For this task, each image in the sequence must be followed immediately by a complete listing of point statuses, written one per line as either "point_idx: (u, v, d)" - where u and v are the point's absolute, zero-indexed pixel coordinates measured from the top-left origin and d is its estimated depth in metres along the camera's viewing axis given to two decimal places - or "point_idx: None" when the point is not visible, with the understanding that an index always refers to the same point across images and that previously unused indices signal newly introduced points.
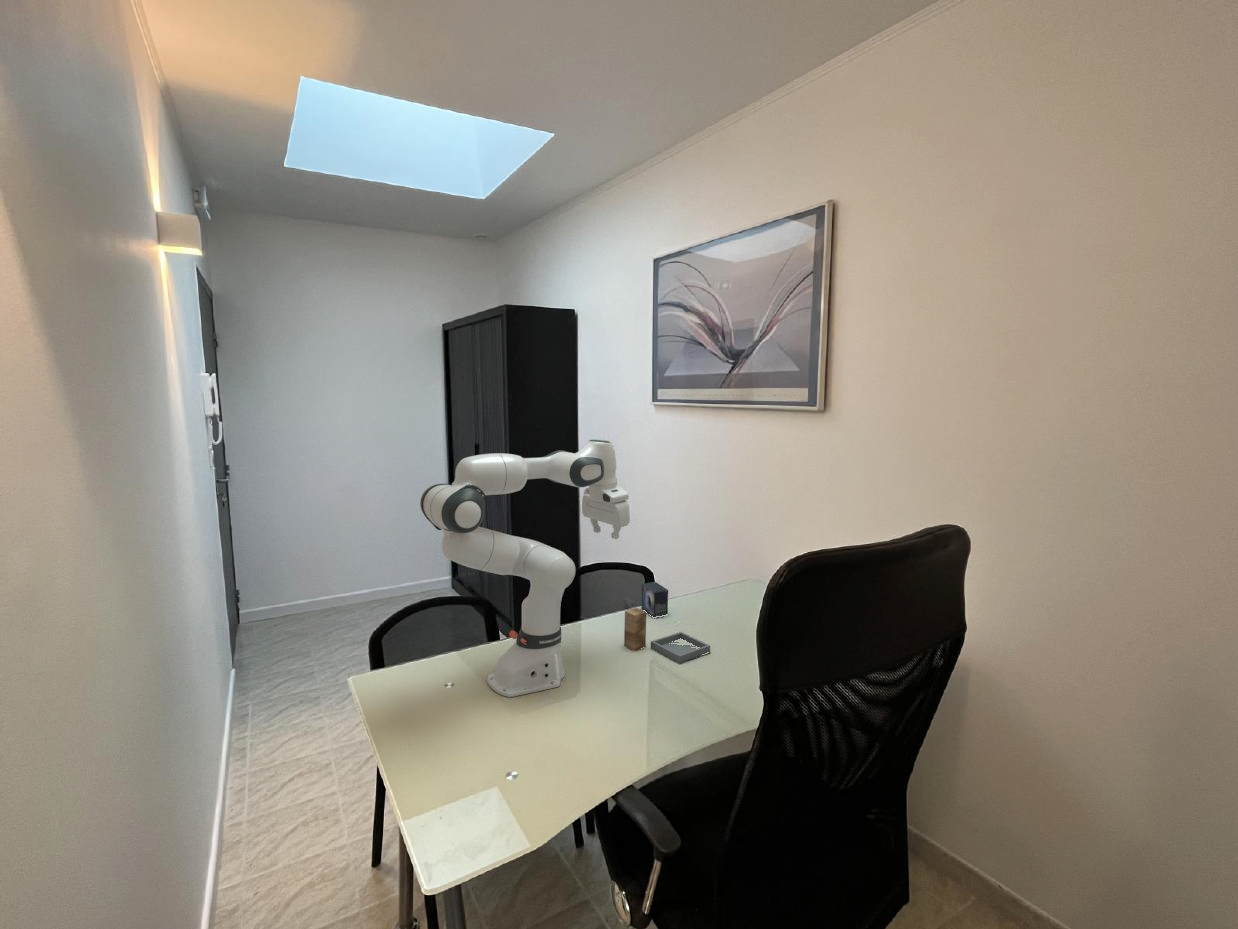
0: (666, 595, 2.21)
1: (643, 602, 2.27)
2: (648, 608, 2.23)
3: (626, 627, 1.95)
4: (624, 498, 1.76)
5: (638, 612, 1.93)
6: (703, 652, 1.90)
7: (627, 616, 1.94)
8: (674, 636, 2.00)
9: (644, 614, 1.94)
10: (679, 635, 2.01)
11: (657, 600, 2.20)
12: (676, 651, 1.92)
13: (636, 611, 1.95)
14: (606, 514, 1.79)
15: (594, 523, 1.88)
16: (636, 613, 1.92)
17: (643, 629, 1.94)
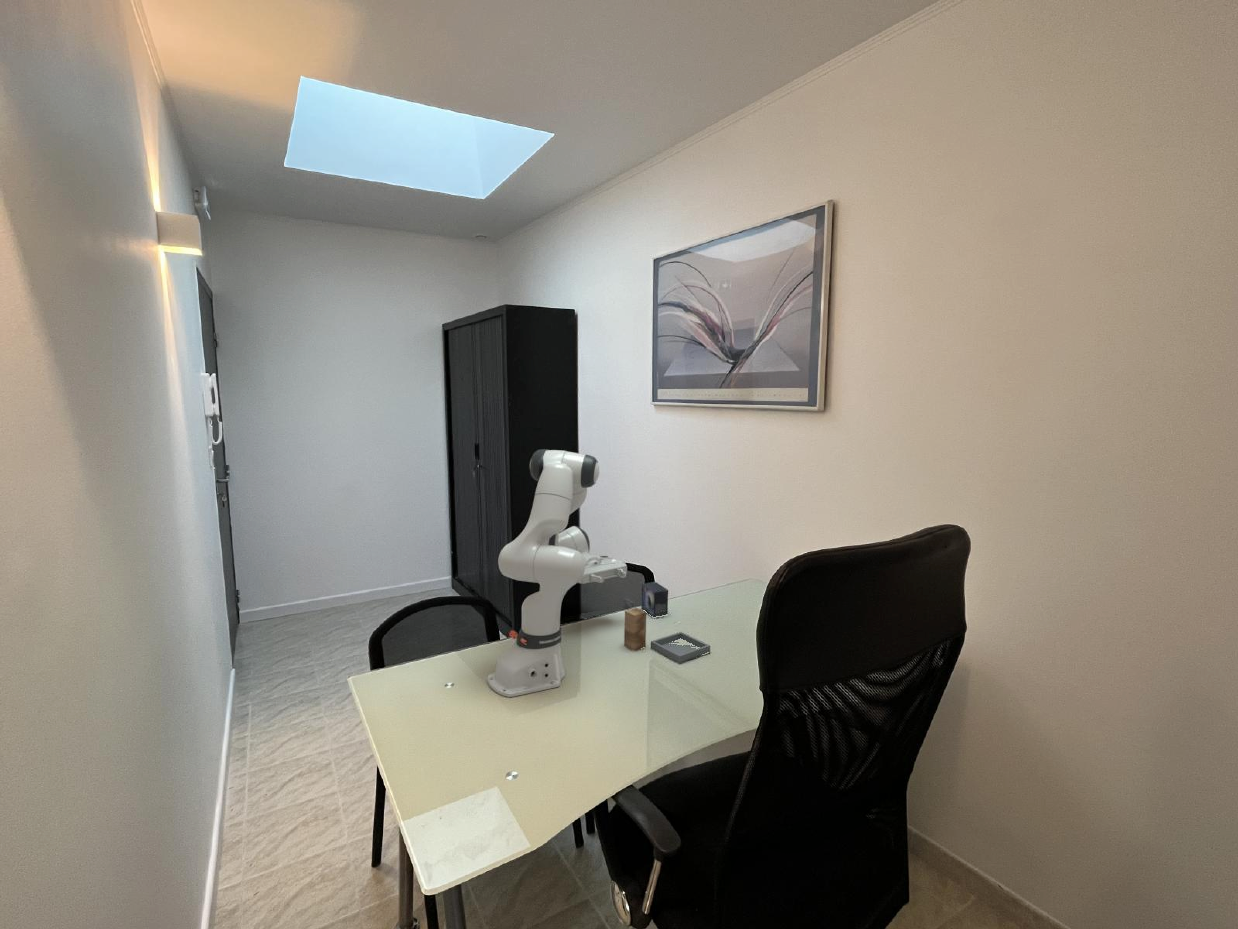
0: (666, 595, 2.21)
1: (643, 602, 2.27)
2: (648, 608, 2.23)
3: (626, 627, 1.95)
4: None
5: (638, 612, 1.93)
6: (703, 652, 1.90)
7: (627, 616, 1.94)
8: (674, 636, 2.00)
9: (644, 614, 1.94)
10: (679, 635, 2.01)
11: (657, 600, 2.20)
12: (676, 651, 1.92)
13: (636, 611, 1.95)
14: (608, 565, 2.11)
15: None
16: (636, 613, 1.92)
17: (643, 629, 1.94)
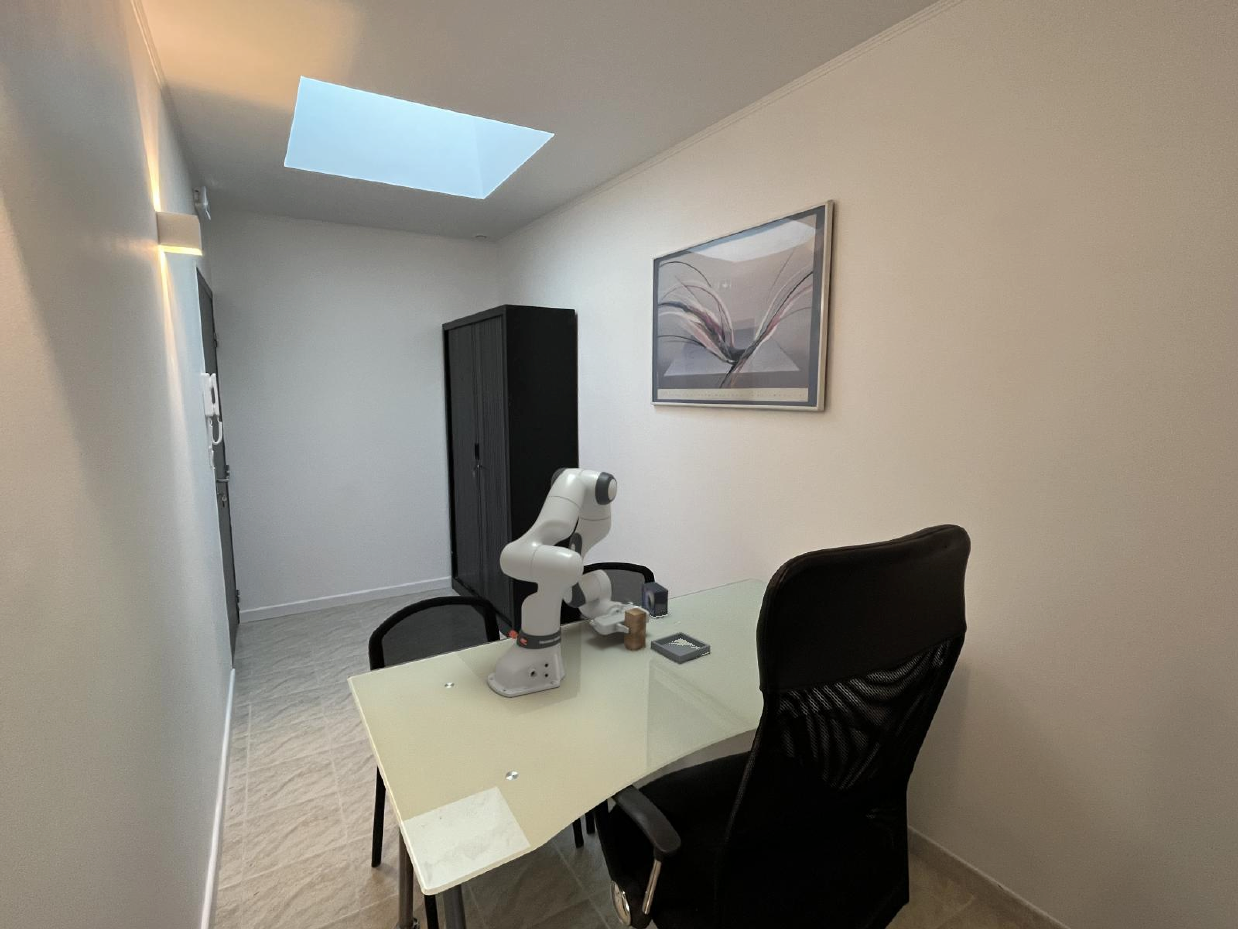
0: (666, 595, 2.21)
1: (643, 602, 2.27)
2: (648, 608, 2.23)
3: None
4: None
5: (638, 612, 1.93)
6: (703, 652, 1.90)
7: (627, 616, 1.94)
8: (674, 636, 2.00)
9: (644, 614, 1.94)
10: (679, 635, 2.01)
11: (657, 600, 2.20)
12: (676, 651, 1.92)
13: (636, 611, 1.95)
14: None
15: None
16: (636, 613, 1.92)
17: (643, 629, 1.94)
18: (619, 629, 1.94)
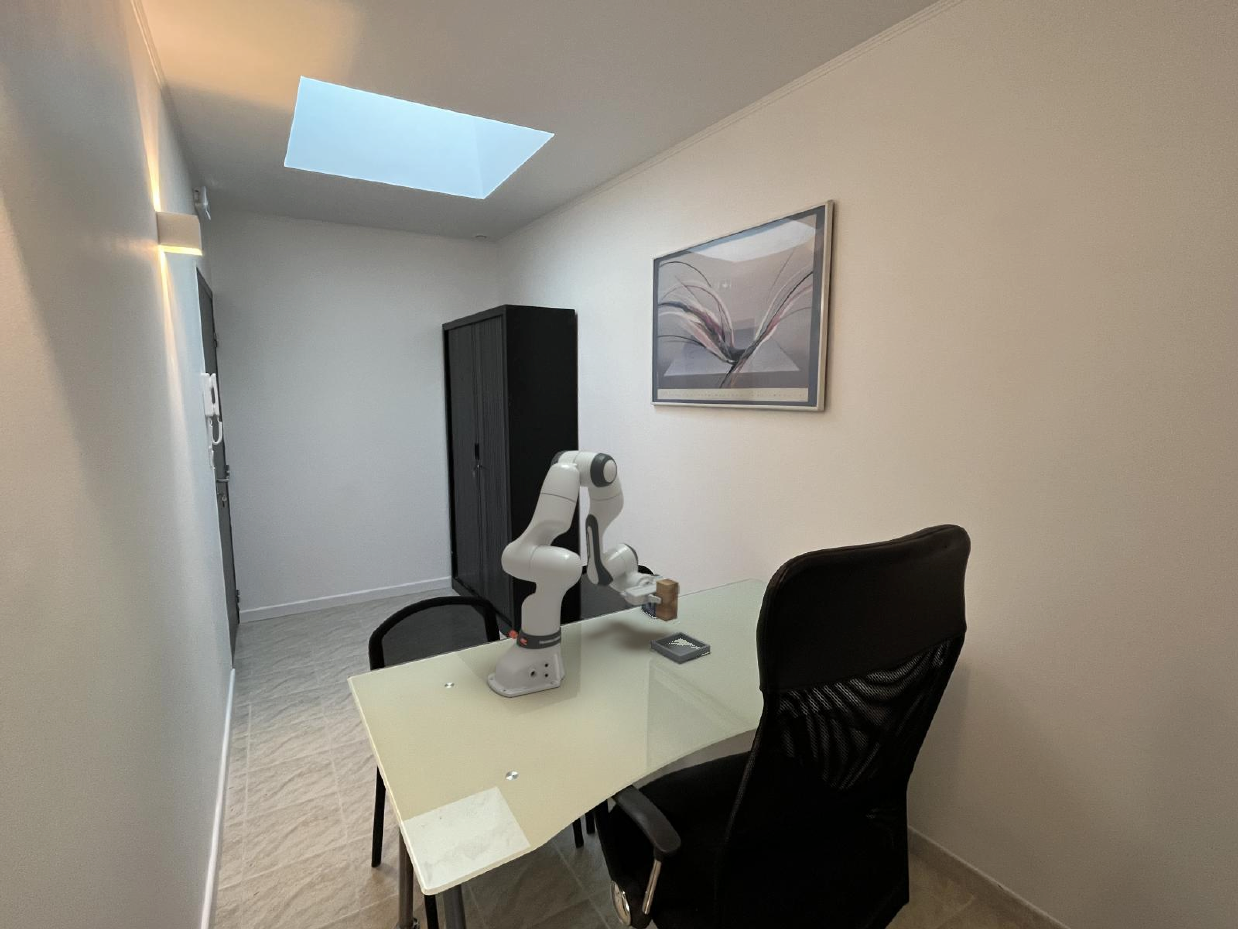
0: None
1: None
2: (648, 608, 2.23)
3: None
4: None
5: (670, 583, 1.91)
6: (703, 652, 1.90)
7: (659, 587, 1.91)
8: (674, 636, 2.00)
9: (676, 584, 1.91)
10: (679, 635, 2.01)
11: None
12: (676, 651, 1.92)
13: (668, 581, 1.92)
14: None
15: None
16: (668, 584, 1.90)
17: (675, 600, 1.92)
18: (651, 600, 1.91)
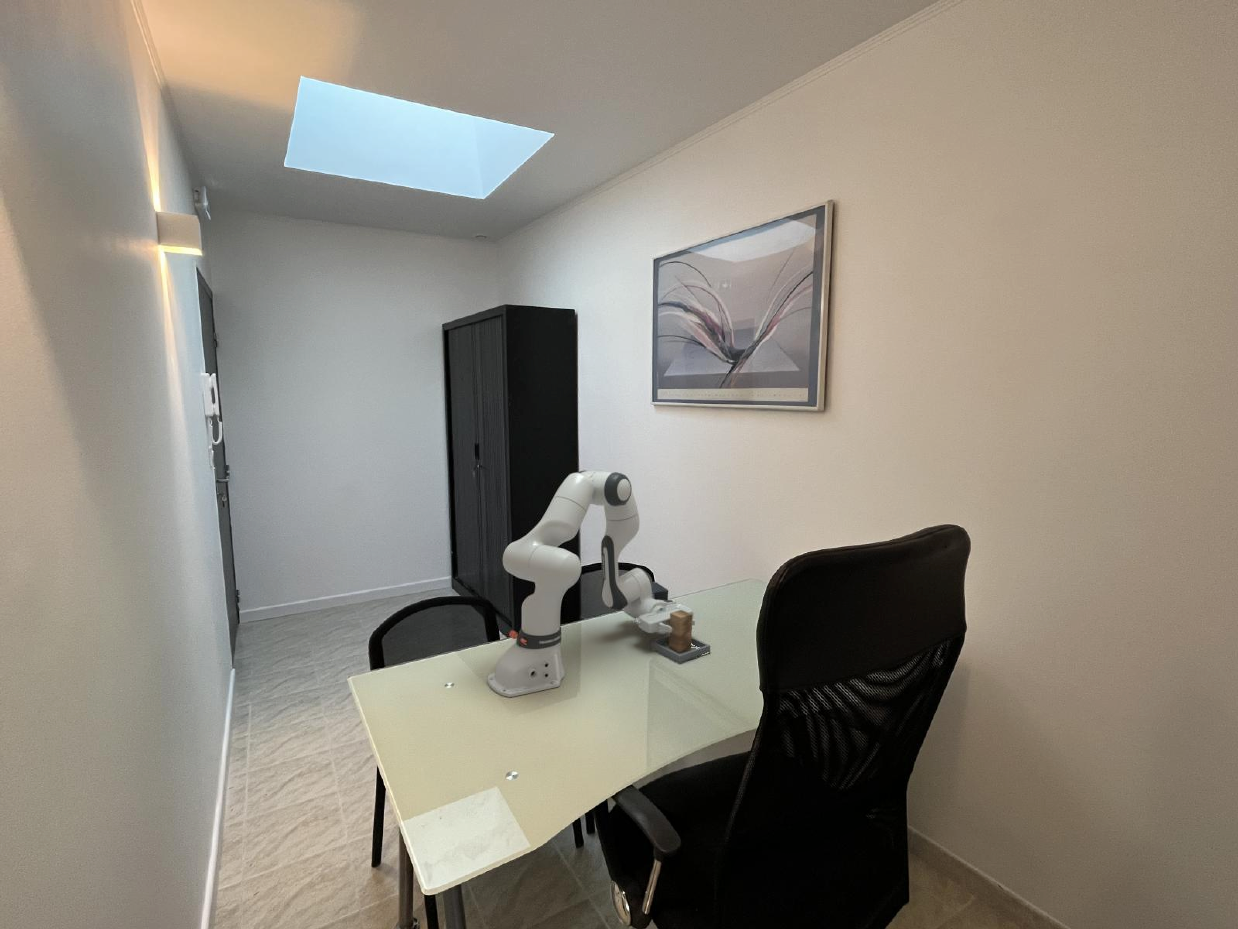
0: (666, 595, 2.21)
1: None
2: None
3: None
4: None
5: (684, 615, 1.91)
6: (703, 652, 1.90)
7: (672, 618, 1.91)
8: None
9: (690, 616, 1.91)
10: None
11: None
12: None
13: (682, 613, 1.92)
14: (674, 611, 2.00)
15: None
16: (682, 616, 1.90)
17: (689, 631, 1.91)
18: (661, 628, 1.90)
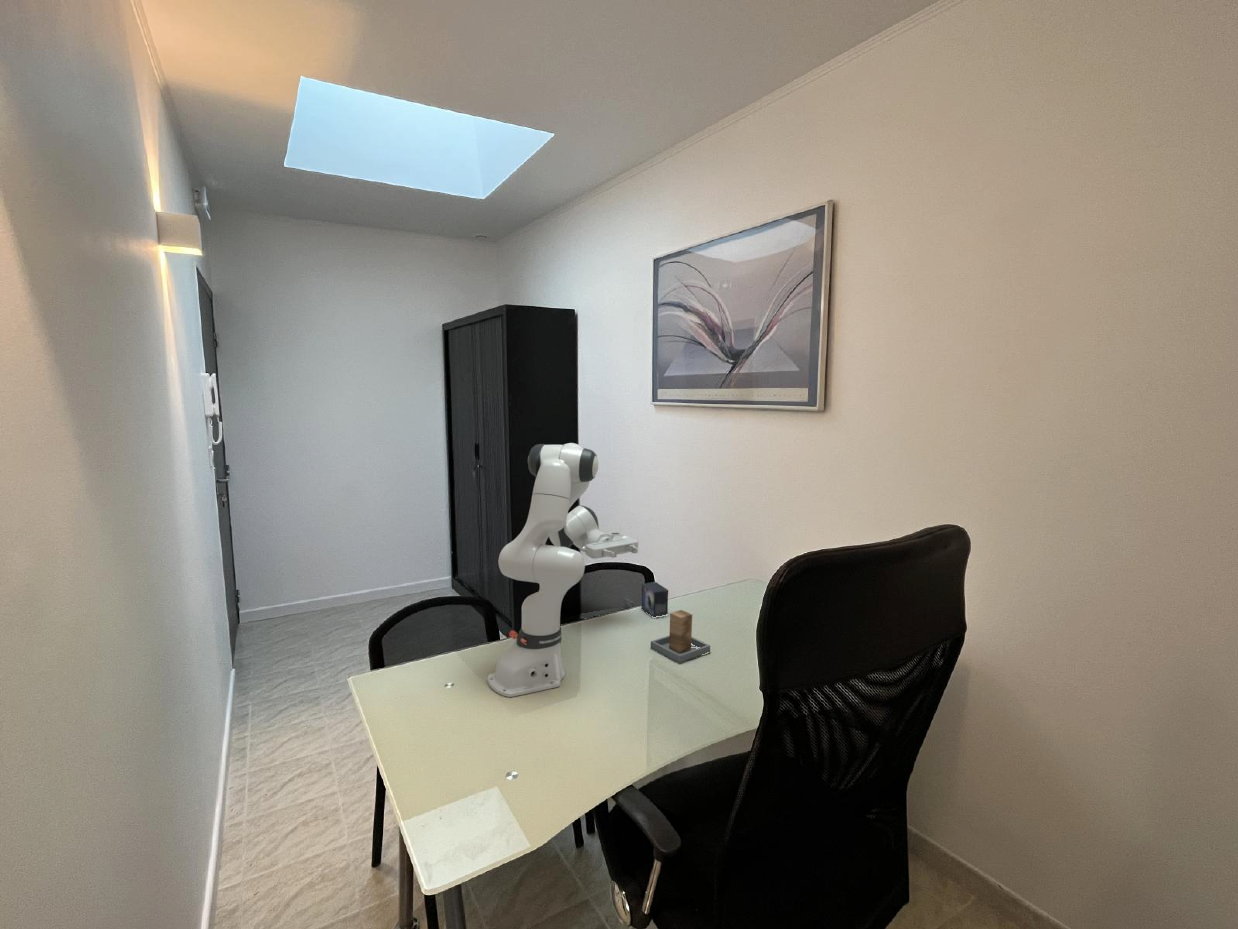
0: (666, 595, 2.21)
1: (643, 602, 2.27)
2: (648, 608, 2.23)
3: (672, 629, 1.92)
4: None
5: (684, 615, 1.91)
6: (703, 652, 1.90)
7: (672, 618, 1.91)
8: None
9: (690, 616, 1.91)
10: None
11: (657, 600, 2.20)
12: None
13: (682, 613, 1.92)
14: (620, 541, 2.13)
15: None
16: (682, 616, 1.90)
17: (689, 631, 1.91)
18: (605, 554, 2.04)
